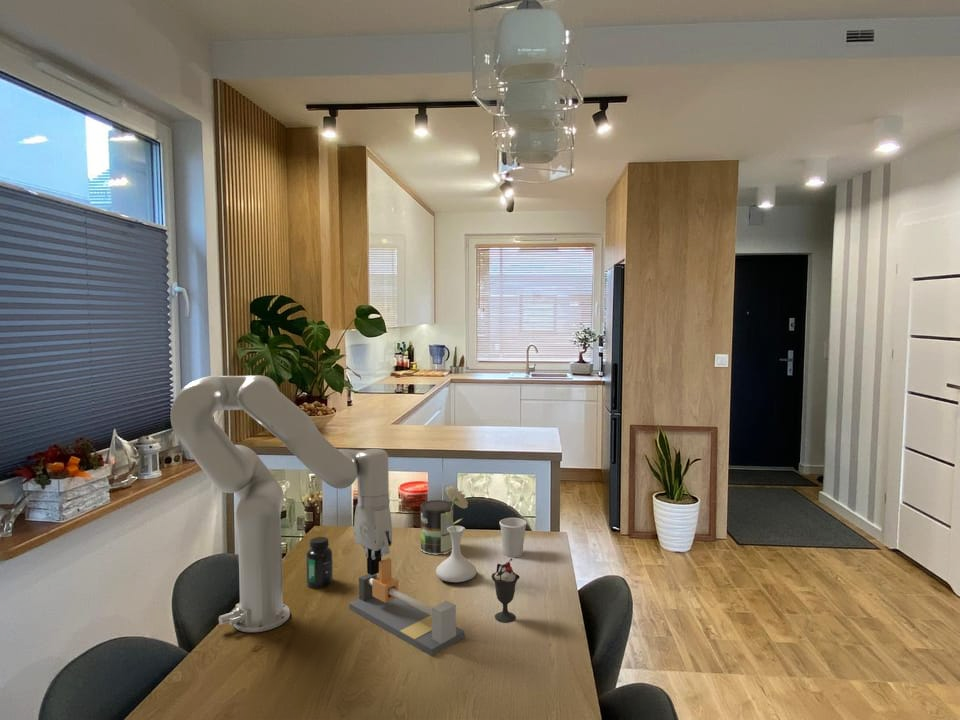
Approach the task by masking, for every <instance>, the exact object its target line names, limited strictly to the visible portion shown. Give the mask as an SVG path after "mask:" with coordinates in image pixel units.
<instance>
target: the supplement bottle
mask: <svg viewBox="0 0 960 720" xmlns="http://www.w3.org/2000/svg"><path fill="white" fill-rule="evenodd" d="M329 545H330V543H329V538H328V537H326V536H325V537H324V536H317V537H313V538H311V539H310V540H309V549H308V550H307V551H306V555H305V558H306V559H305V561H306V564H305V565H306V569H305V571H306V584H307V587H308V588H312V589H322V588H326V587H329V586H330V585H331V584H332V583H333V579H334V575H333V569H334V568H333V565H334V564H333V550H332V549H331V548H330V547H329Z"/></svg>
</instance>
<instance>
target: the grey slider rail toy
mask: <svg viewBox="0 0 960 720" xmlns="http://www.w3.org/2000/svg"><path fill="white" fill-rule="evenodd" d="M376 578H378V575H377V574H374V575H370V574H368V573H367V574H365V575H362V576H359V577H358V599H356V600H353V601H351V602H349V603H348V609H349V610H350V611H352V612H354V613H356V614H357V615H359V616H360V617H363V618H365V620H368V621H370V622H371V623H373V624H375V625H376V626H378V627H380V628H382V629H384V630H385V631H387V632H389V633H391V634H392V635H394V636H396V637H398V638H399V639H400V640H403V641H405V642H407V643H408V644H409V645H411V646H414V647H415V648H417V649H419V650H420V651H422V652H424V653H426V654H427V655H429V656H431V657H433V656H435V655H436V654H438V653H440V652H441V651H443V650H445V649H446V648H449V647H450V646H452V645H454V644H456V643H458V642H459V641H460V640H463V639H465V636H466V634H465V633H466V631H465V630H464V629H462V628H460V627H458V626H457V624H456V623H457V604H455V603H452V602H450V601H448V600H444V601H443V602H441V603H439V604H436V605H434V606H431V605H428V604H426V603H424V602H422V601H420V600H418V599H417V598H415V597H413V596H412V597H411V596H410V595H407V594H406V593H404V592H401V591H399V589H398V590H396V589H393V588H391V587H390V588H388V594H389V595H391V596H393V597H395V599H393V600H391V601H388V602H386V603H385V602H383V601H381V600H379V599H377V598H375V597H373V595H372V580H374V579H376Z"/></svg>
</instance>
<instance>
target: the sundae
mask: <svg viewBox="0 0 960 720" xmlns="http://www.w3.org/2000/svg"><path fill="white" fill-rule="evenodd" d="M513 559H514V558H510V559H509V560H508V562H505V563H504V564H500V563H497V565H496V572H493V573H492V574H491V580H492V581H493V582H494V589H495V594H496V598H497V601H499V602H500V603H501V604H502V610H501V611H500V612H497V613H496V614H495V615H494V619H495V620H497V621H498V622H500V623H512V622H514V621H515V620H516V615H515V614H514V613H512V612H510V611H508V605H509V603H511V602H512V601H513V600H514V597H515V592H516V591H515V590H516V585H517V582H518V580H519V579H520V578H521V577H520V575H519V574H517V573H516V572H514V569H513V568H512V566H511V562H512V561H513Z"/></svg>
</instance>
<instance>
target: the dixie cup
mask: <svg viewBox="0 0 960 720" xmlns="http://www.w3.org/2000/svg"><path fill="white" fill-rule="evenodd" d="M527 524H528V523H527V521H526V520H525V519H523V518H519V517H507V518H503V519H501V520H499V527H500V533H501V534H500V535H501V542H502V550H503V555H504V556H505V557H506V556H507V558H510V557H511V558H512V559H516V557H517V558H520V557H522V556H523V551H524V544H525V542H524V541H525V536H526V535H525V534H526V527H527ZM511 558H510V559H511Z"/></svg>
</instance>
